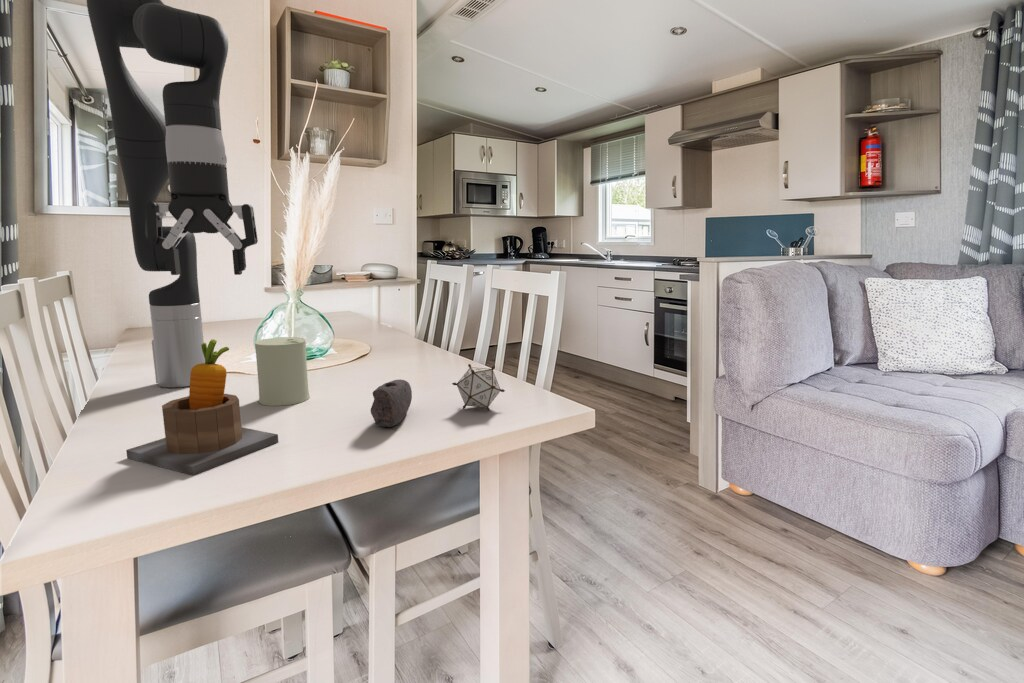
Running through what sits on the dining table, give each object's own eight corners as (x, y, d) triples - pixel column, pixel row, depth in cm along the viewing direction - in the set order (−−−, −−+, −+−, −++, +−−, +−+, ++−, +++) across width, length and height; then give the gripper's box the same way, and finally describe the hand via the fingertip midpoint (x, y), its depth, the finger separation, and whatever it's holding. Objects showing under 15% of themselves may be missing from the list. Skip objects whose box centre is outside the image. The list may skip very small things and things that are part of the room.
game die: (488, 425, 106) (520, 382, 106) (471, 422, 98) (505, 376, 98) (454, 397, 109) (485, 355, 109) (435, 391, 101) (468, 347, 101)
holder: (127, 458, 80) (121, 408, 79) (215, 429, 93) (211, 386, 91) (193, 475, 74) (187, 422, 73) (278, 441, 87) (275, 396, 85)
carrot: (193, 437, 86) (203, 338, 86) (227, 439, 86) (236, 340, 86) (175, 442, 81) (186, 337, 81) (211, 445, 81) (221, 340, 81)
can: (292, 407, 105) (288, 343, 103) (248, 404, 107) (243, 341, 105) (318, 394, 114) (315, 335, 112) (277, 392, 116) (273, 334, 114)
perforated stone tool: (394, 406, 106) (393, 370, 105) (422, 407, 105) (421, 370, 104) (364, 432, 91) (362, 391, 90) (396, 434, 91) (394, 391, 89)
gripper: (131, 157, 77) (145, 277, 80) (245, 161, 80) (254, 276, 83) (151, 162, 84) (163, 273, 87) (255, 166, 87) (263, 272, 91)
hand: (207, 274), depth 85 cm, fingers open, 8 cm apart
